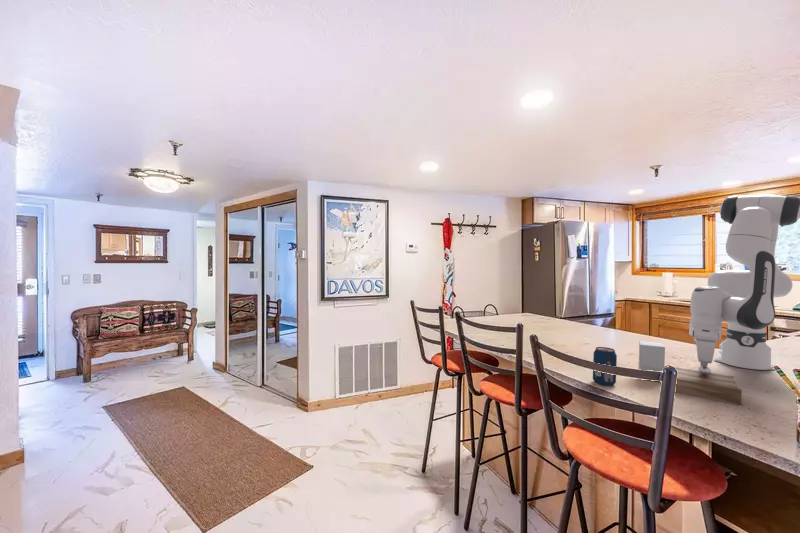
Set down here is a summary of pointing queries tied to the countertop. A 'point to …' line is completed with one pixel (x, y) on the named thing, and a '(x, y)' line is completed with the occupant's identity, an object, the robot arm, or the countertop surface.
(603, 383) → the soda can
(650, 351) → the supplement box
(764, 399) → the countertop surface
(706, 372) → the ball
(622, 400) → the countertop surface
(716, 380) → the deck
